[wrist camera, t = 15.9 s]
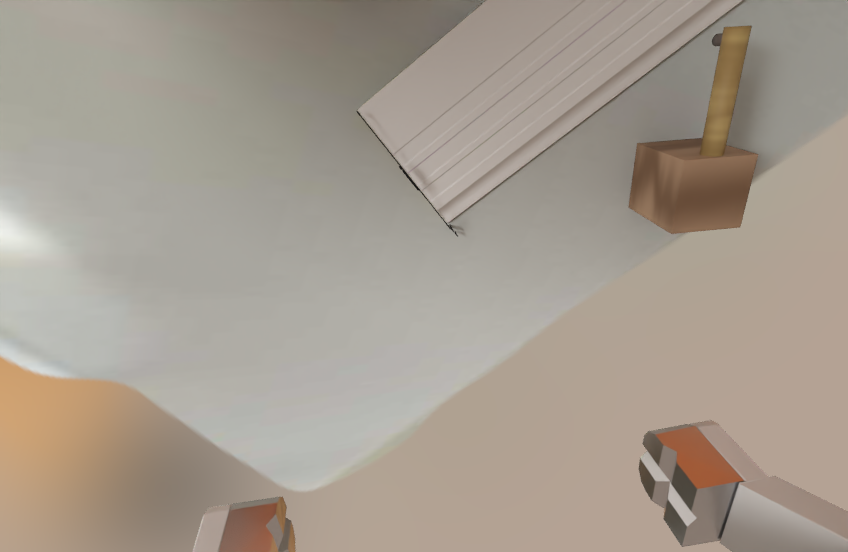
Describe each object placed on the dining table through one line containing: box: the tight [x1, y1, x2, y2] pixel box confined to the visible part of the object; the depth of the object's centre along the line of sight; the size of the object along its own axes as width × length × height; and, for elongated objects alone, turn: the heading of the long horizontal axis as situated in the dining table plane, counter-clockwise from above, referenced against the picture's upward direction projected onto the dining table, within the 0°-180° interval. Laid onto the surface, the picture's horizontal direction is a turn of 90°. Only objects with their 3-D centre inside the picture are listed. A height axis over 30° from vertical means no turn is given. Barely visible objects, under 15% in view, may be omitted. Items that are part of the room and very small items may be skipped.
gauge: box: [629, 26, 758, 234], centre depth 33 cm, size 12×5×6 cm, turn 3°
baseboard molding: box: [357, 0, 743, 236], centre depth 32 cm, size 31×3×12 cm
